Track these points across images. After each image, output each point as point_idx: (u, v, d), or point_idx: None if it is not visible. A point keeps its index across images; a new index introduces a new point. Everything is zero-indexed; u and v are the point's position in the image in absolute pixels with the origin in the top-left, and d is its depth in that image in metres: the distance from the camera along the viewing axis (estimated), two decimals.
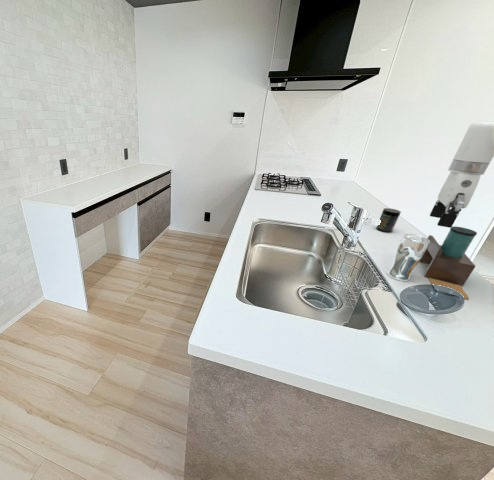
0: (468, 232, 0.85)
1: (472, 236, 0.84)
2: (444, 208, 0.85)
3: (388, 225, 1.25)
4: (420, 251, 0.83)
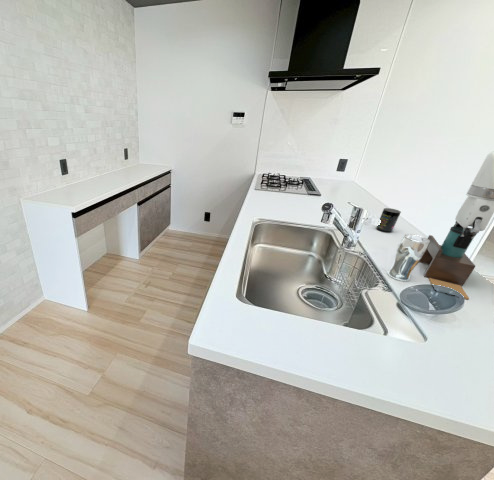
0: None
1: None
2: None
3: (388, 225, 1.25)
4: (420, 251, 0.83)
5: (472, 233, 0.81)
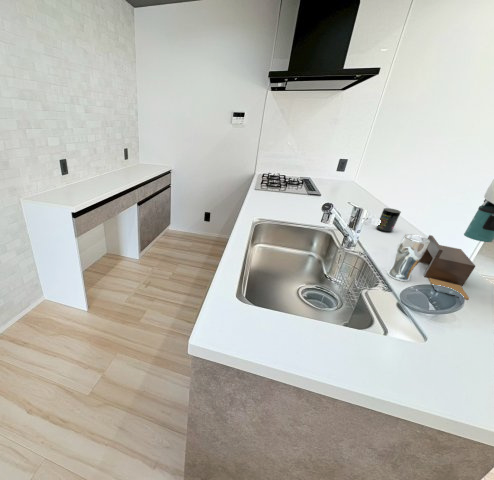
0: None
1: None
2: None
3: (388, 225, 1.25)
4: (420, 251, 0.83)
5: None
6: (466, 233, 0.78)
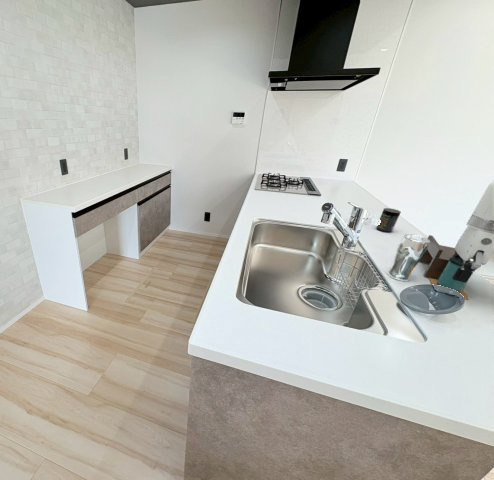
0: (468, 264, 0.79)
1: None
2: None
3: (388, 225, 1.25)
4: (420, 251, 0.83)
5: (473, 267, 0.75)
6: (438, 280, 0.85)
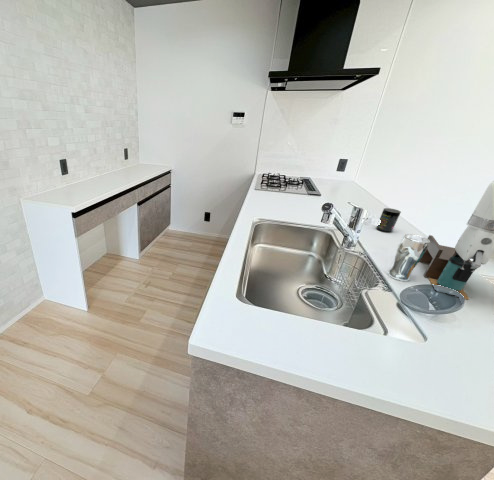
0: None
1: None
2: None
3: (388, 225, 1.25)
4: (420, 251, 0.83)
5: (473, 267, 0.75)
6: (438, 280, 0.85)
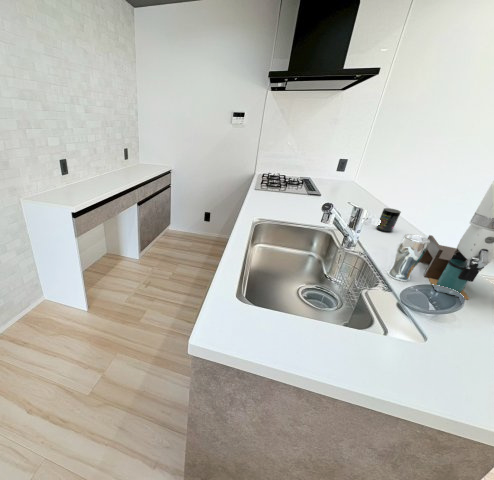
0: None
1: None
2: (464, 259, 0.83)
3: (388, 225, 1.25)
4: (420, 251, 0.83)
5: (480, 265, 0.73)
6: (438, 283, 0.85)
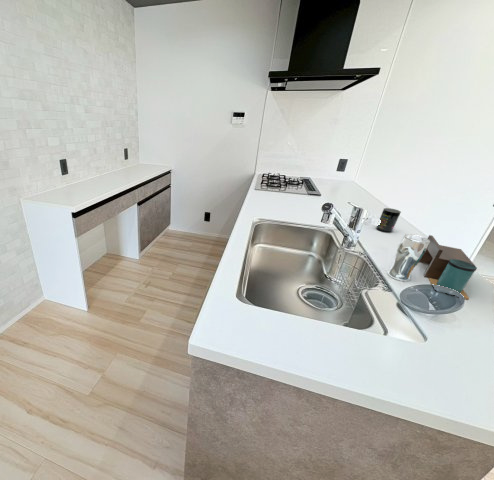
0: (467, 267, 0.79)
1: (472, 271, 0.79)
2: None
3: (388, 225, 1.25)
4: (420, 251, 0.83)
5: None
6: (438, 283, 0.85)
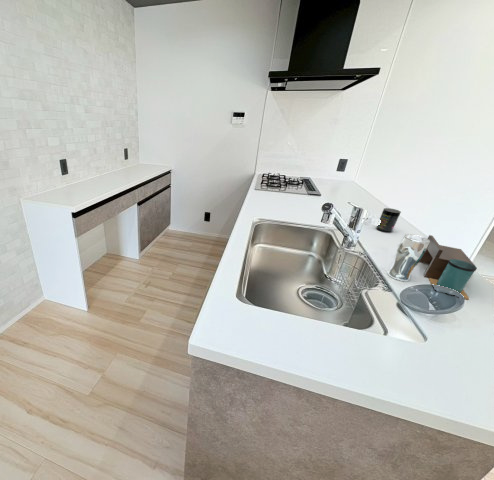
0: (467, 267, 0.79)
1: (472, 271, 0.79)
2: None
3: (388, 225, 1.25)
4: (420, 251, 0.83)
5: None
6: (438, 283, 0.85)
